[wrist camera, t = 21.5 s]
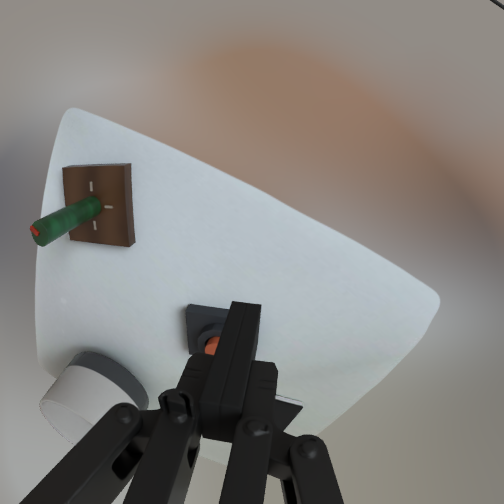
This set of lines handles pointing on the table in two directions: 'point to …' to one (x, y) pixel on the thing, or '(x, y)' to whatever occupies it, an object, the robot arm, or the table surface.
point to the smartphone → (285, 411)
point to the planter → (89, 394)
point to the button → (211, 345)
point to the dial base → (102, 202)
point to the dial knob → (64, 220)
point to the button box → (203, 325)
